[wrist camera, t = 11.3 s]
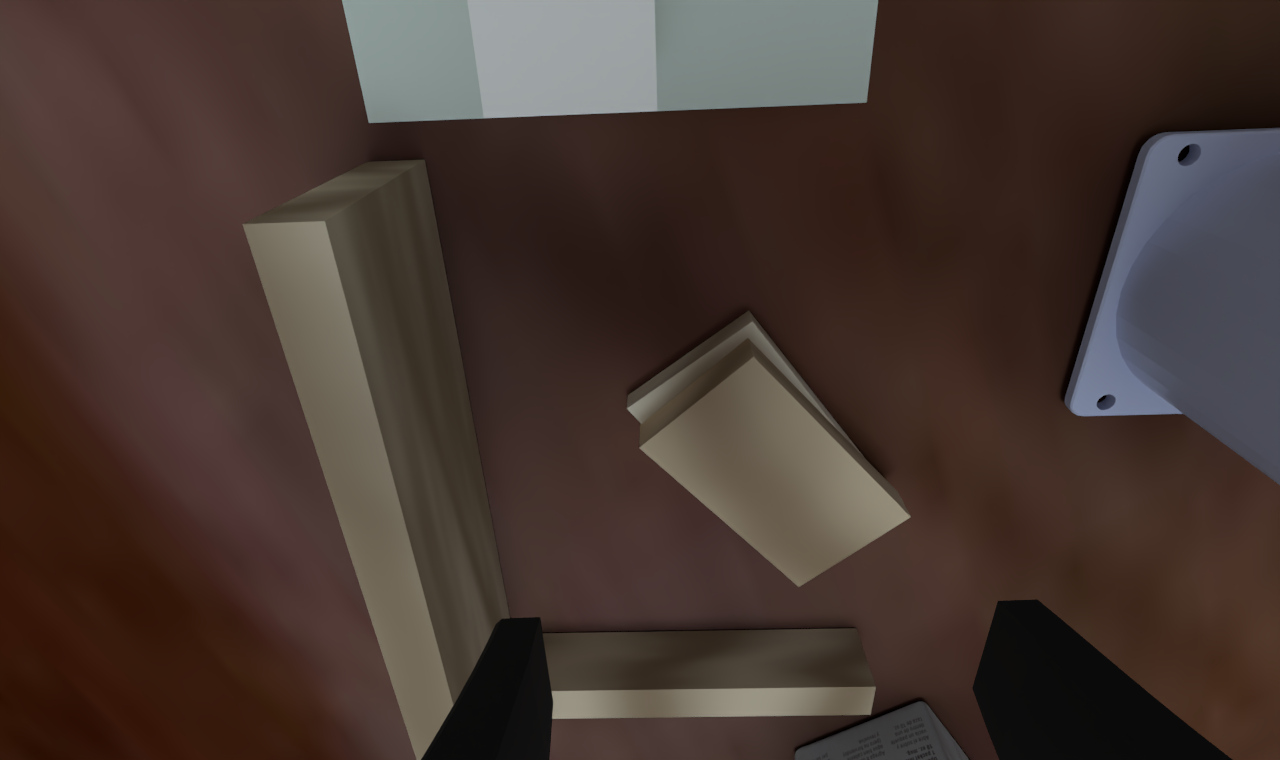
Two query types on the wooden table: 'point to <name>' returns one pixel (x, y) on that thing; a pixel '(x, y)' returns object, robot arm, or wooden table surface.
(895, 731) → the coffee box
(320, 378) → the corner fence
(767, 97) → the mat
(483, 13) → the gray rectangular slab
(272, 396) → the wooden table surface
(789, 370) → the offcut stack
